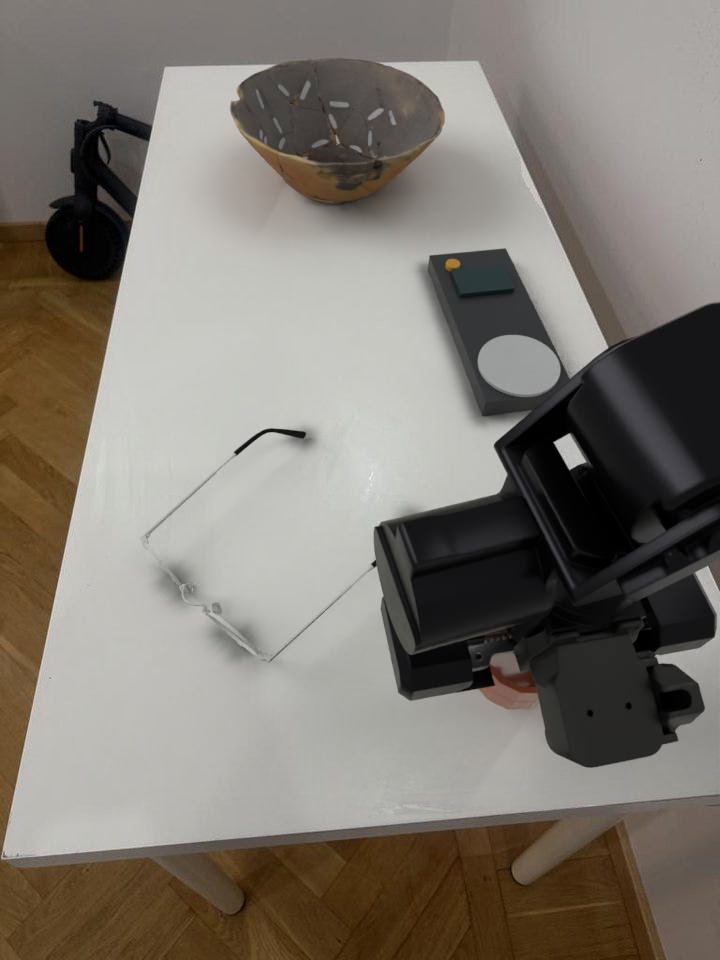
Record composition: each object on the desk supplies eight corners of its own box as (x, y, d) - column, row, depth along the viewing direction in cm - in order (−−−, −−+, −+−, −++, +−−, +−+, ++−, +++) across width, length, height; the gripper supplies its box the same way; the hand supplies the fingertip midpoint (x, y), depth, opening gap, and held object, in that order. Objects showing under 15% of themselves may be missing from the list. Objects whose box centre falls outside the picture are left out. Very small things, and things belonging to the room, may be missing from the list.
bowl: (457, 232, 77) (471, 151, 69) (253, 255, 74) (243, 172, 65) (405, 125, 91) (412, 47, 82) (231, 140, 87) (220, 60, 79)
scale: (570, 405, 62) (578, 387, 60) (482, 416, 61) (487, 398, 59) (502, 262, 74) (507, 243, 72) (427, 269, 73) (430, 250, 71)
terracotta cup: (554, 636, 47) (572, 613, 43) (549, 721, 43) (569, 704, 40) (473, 618, 47) (484, 594, 44) (462, 701, 44) (473, 682, 40)
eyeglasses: (131, 558, 52) (113, 528, 47) (294, 427, 60) (291, 391, 55) (267, 693, 46) (260, 672, 42) (427, 528, 54) (435, 496, 50)
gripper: (442, 772, 26) (408, 817, 39) (852, 691, 28) (690, 759, 41) (386, 534, 32) (373, 642, 45) (727, 483, 34) (620, 600, 47)
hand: (513, 662), depth 44 cm, fingers closed on terracotta cup, 6 cm apart
